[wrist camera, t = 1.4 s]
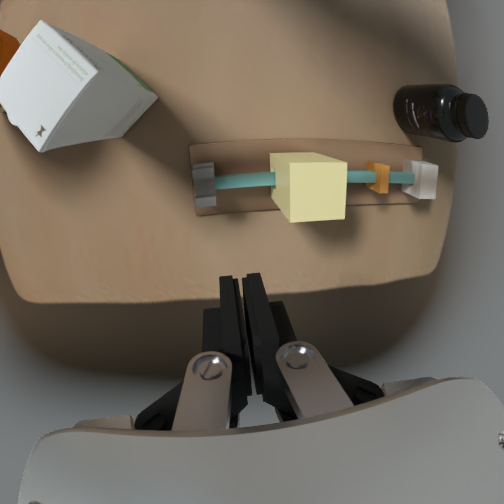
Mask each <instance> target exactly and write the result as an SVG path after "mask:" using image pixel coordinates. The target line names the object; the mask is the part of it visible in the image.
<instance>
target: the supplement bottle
mask: <svg viewBox="0 0 504 504" xmlns="http://www.w3.org/2000/svg"><path fill="white" fill-rule="evenodd" d="M393 109H394V114H395V117H396V120H397V121H398V123H399V125H400V126H401V127H402V128H403V129H404V130H405V131H407V132H409V133H411V134H415V135H420V136H426V137H431V138H436V139H441V140H445V141H450V142H461V141H463V140H464V139H466V138H467V137H469V138H475V139H480V138H482V137H484V135H486V132H487V129H488V122H489V120H488V112H487V108H486V106H485V104H484V102H483V101H482V99H481V98H480V97H479V96H477V95H475V94H468V93H464V92H463V91H462V90H460V89H459V88H458V87H456V86H454V85H451V84H423V85H408V86H404V87H402V88H400V89H399V90H398V91H397V93H396V95H395V97H394V101H393Z"/></svg>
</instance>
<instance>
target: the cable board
mask: <svg viewBox="0 0 504 504" xmlns="http://www.w3.org/2000/svg"><path fill="white" fill-rule="evenodd" d="M189 151H190V162H191V172H192V182H193V192H194V201H195V210H196V216H200V215H210V214H220V213H231V212H243V211H255V210H268V209H279V207H278V206H277V205H276V203H275V202H274V201H273V199H272V198H271V185H276V173H275V172H270V153H294V152H314V153H318V154H321V155H325V156H328V157H331V158H334V159H338V160H341V161H344V162H347V187H346V205H358V204H392V203H418V199H435V195H436V187H437V177H438V165H435V164H431V163H428V162H425V161H422V154H423V148H422V147H415V146H408V145H399V144H390V143H380V142H368V141H354V140H334V139H264V140H243V141H228V142H216V143H205V144H196V145H189Z"/></svg>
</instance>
